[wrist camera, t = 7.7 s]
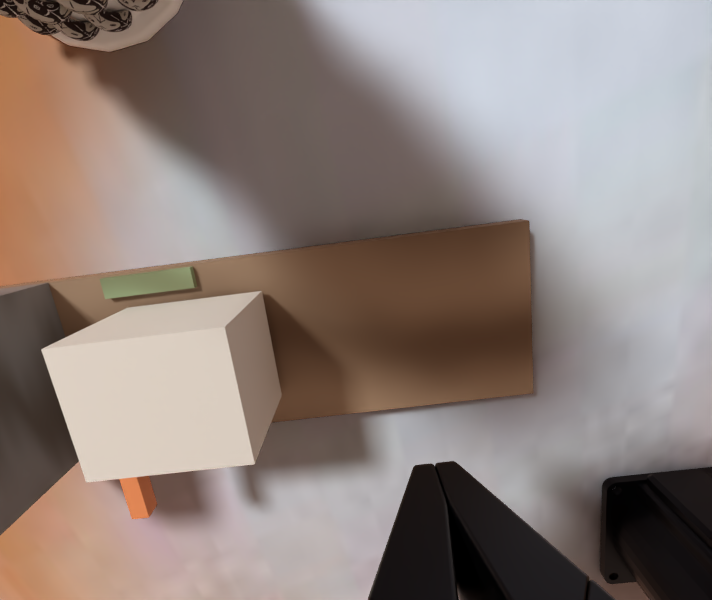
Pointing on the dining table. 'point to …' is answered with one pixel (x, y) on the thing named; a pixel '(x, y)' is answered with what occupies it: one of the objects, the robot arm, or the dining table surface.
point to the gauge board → (295, 332)
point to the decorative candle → (94, 20)
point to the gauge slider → (167, 390)
